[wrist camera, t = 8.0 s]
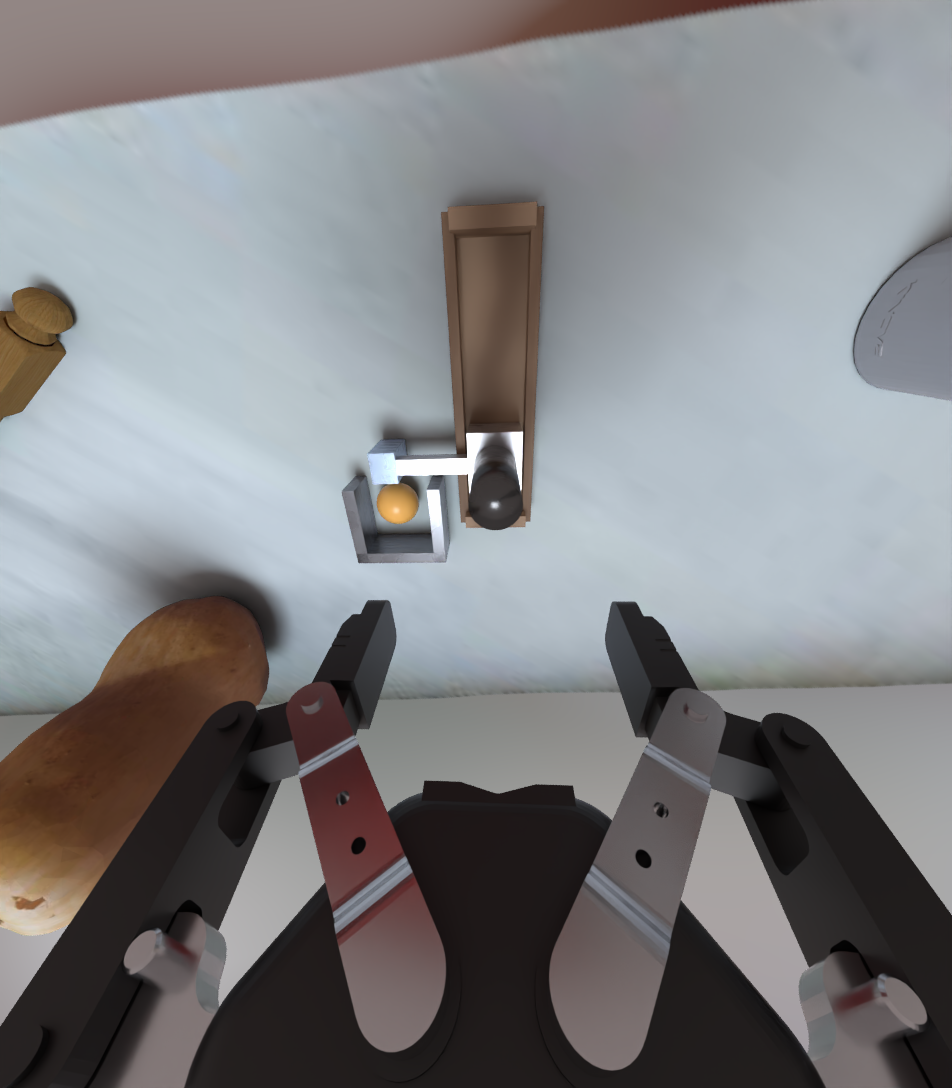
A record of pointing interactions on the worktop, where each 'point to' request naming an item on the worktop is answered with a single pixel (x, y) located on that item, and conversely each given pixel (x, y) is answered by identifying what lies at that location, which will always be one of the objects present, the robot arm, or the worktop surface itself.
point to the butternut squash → (116, 754)
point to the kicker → (466, 470)
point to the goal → (396, 545)
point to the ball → (397, 503)
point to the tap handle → (29, 346)
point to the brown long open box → (494, 324)
